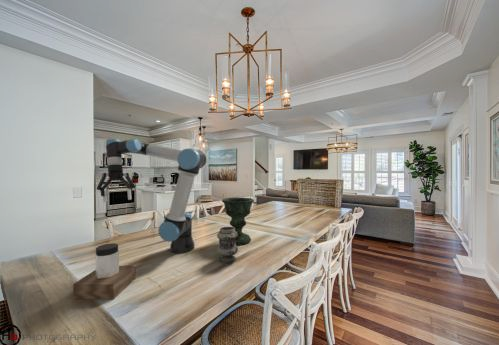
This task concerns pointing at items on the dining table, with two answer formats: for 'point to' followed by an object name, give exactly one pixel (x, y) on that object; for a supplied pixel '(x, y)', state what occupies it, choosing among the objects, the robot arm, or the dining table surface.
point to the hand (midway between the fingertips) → (118, 200)
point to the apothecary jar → (227, 244)
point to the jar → (107, 260)
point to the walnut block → (103, 284)
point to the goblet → (238, 216)
